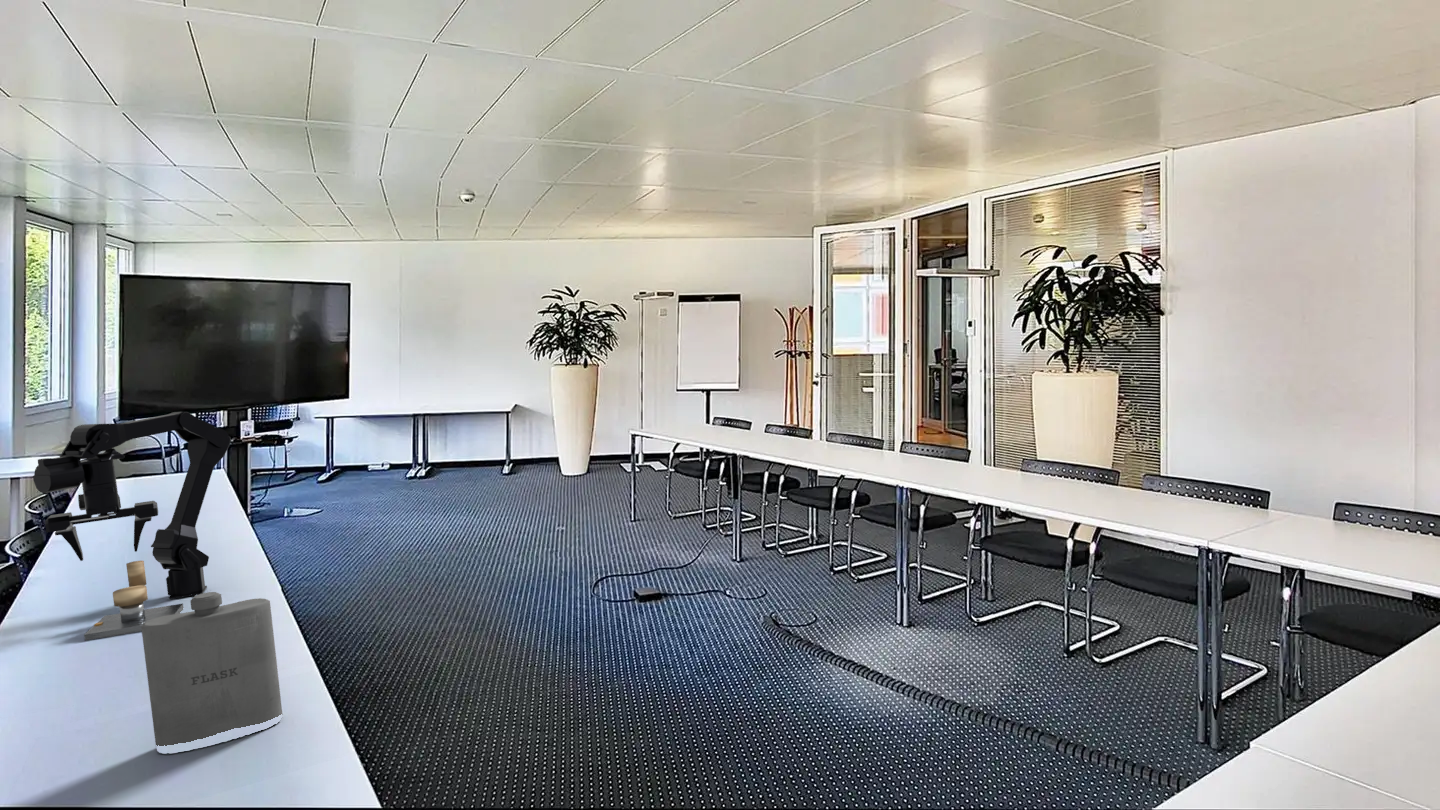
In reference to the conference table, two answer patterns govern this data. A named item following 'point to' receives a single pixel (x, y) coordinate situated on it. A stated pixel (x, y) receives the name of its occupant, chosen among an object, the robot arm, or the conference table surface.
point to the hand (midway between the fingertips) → (109, 555)
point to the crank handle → (132, 586)
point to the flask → (211, 669)
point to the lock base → (128, 626)
